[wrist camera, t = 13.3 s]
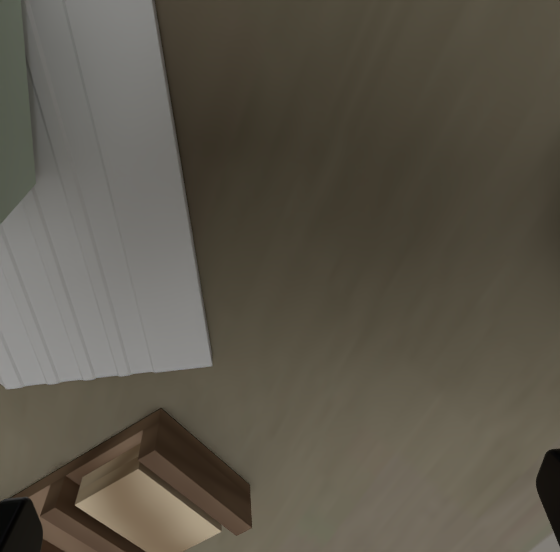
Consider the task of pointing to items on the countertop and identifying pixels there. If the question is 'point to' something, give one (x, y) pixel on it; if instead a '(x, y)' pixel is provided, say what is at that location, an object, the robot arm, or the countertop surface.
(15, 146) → the pale green block
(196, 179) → the countertop surface
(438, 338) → the countertop surface
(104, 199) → the baseboard
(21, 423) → the countertop surface
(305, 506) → the countertop surface
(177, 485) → the rack
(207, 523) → the offcut top
